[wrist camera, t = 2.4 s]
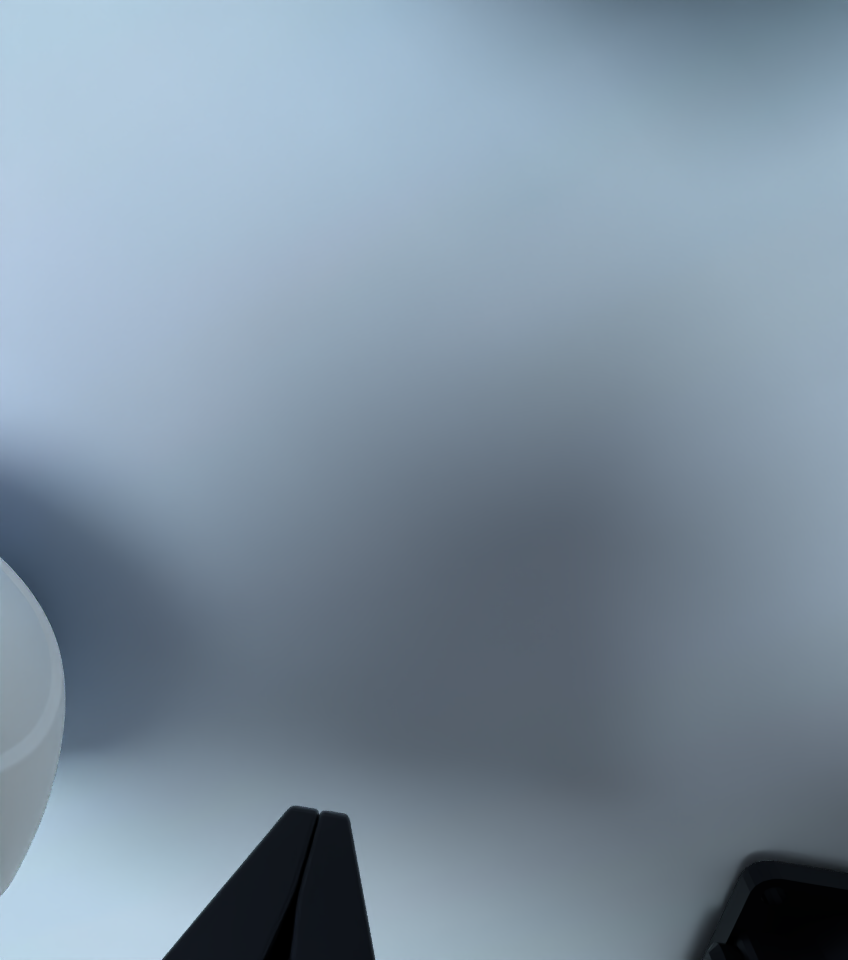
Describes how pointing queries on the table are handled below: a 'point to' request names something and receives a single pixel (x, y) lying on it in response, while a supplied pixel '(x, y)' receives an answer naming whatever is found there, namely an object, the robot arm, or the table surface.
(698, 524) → the table surface
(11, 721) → the white folded round lump
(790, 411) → the table surface
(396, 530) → the table surface
